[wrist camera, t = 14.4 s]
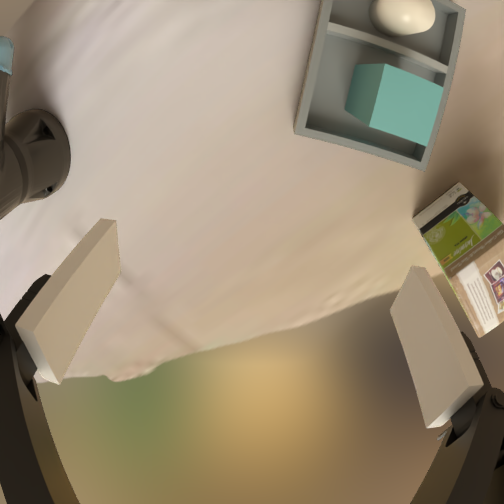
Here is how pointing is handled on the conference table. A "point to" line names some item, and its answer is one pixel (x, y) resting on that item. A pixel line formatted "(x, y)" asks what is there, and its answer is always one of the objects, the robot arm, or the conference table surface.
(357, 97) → the teal carton
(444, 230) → the tea box
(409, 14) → the cream rounded capsule
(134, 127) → the conference table surface
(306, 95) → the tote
